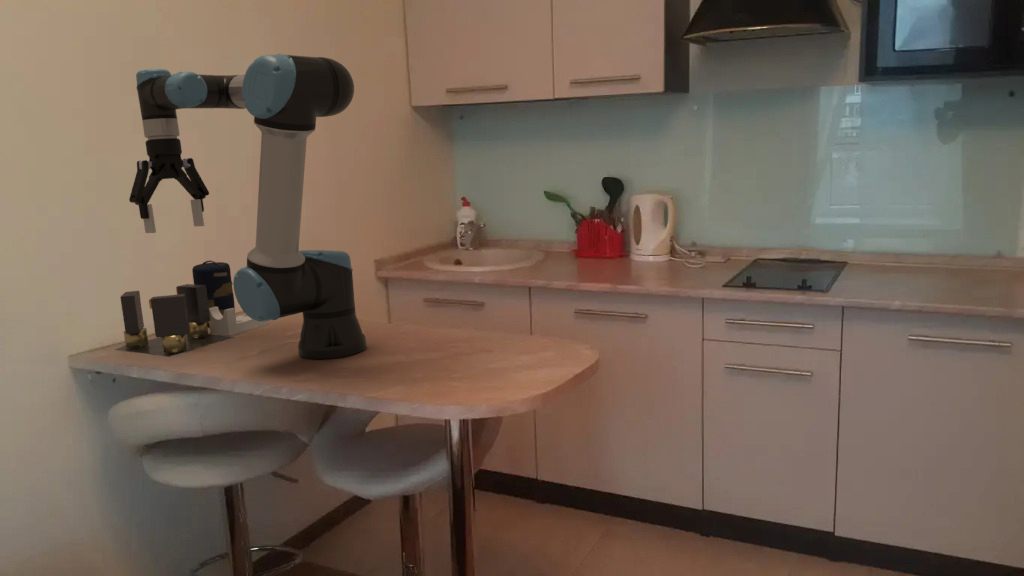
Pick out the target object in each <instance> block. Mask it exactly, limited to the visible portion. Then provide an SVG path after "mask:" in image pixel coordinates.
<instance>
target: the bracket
mask: <svg viewBox="0 0 1024 576" xmlns="http://www.w3.org/2000/svg"><path fill="white" fill-rule="evenodd" d="M209 314H210V321H209V326H210V327H209V334H213V335H222V336H233V335H236V334H240V333H244V332H246V331H250V330H254V329H257V328H261V327H264V326H267V325H268V326H269V324H270V322H269V321H270V320H267V321H256V320H253V319H252V318H250V317H249V316H247V315H246V313H244V314H242V315H239V316H237V315H236V307H235V308H230V309H226V310H224V315H223V316H222V315H221V313H220V312H219V309H218V307H212V308H209Z"/></svg>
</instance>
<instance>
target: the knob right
mask: <svg viewBox="0 0 1024 576" xmlns="http://www.w3.org/2000/svg"><path fill="white" fill-rule="evenodd" d="M175 290H176V295H179V294H185V296H186V304H187V312H188V319H189V327H190V332H189V334H187V337H188V338H199V337H204V336H207V335H208V334H209V329H208V328H209V327H207V322H208V321H210V314H209V306H208V298H207V290H206V285H194V284H190V283H189V284H188V283H186V284H182V285H178V286H176V287H175Z"/></svg>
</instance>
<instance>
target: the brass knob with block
mask: <svg viewBox="0 0 1024 576" xmlns="http://www.w3.org/2000/svg"><path fill="white" fill-rule="evenodd" d="M140 293H141V292H140V290H134V291H133V290H132V291H126V292H123V293H122V294H121V295H120V298H119V299H120V304H121V305H120V306H121V310H122V311H121V312H122V316H123V319H122V320H123V323H124V324H123V325H124V330H123V336H124V344H125V346H126V347H127V348H135V347H141V346H145V345H148V340H149V337H148V332H147V328H146V327H145V324H144V317H143V309H142V301H141V295H140Z"/></svg>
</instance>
